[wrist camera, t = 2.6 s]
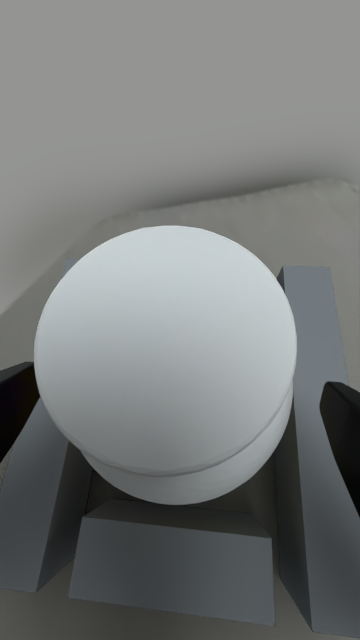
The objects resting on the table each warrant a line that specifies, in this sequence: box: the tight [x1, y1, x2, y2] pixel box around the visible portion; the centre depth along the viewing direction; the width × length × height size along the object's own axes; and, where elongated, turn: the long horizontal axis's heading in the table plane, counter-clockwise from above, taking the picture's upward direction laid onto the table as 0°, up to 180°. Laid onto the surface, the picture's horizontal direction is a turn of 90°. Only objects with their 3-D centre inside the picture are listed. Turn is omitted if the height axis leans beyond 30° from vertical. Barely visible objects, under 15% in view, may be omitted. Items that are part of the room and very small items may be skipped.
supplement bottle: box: [34, 226, 297, 505], centre depth 11 cm, size 7×7×13 cm
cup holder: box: [0, 259, 360, 638], centre depth 15 cm, size 15×15×4 cm
